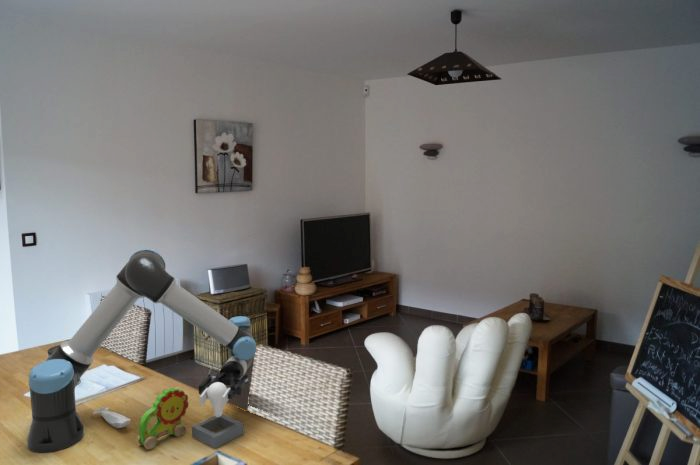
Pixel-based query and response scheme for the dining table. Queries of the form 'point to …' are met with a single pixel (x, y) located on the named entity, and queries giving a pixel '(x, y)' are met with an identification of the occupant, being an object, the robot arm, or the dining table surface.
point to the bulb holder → (217, 430)
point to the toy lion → (164, 417)
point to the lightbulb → (216, 397)
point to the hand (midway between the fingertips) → (212, 401)
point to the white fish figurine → (113, 418)
